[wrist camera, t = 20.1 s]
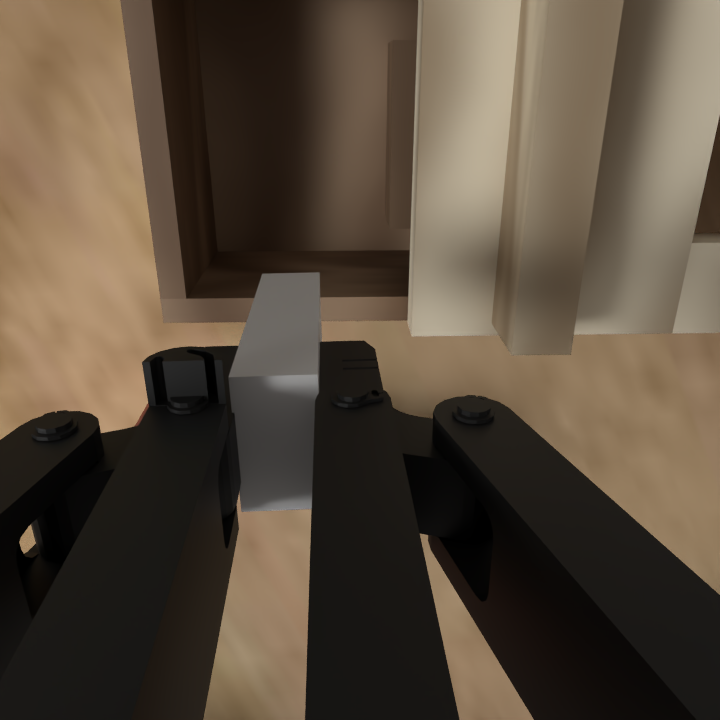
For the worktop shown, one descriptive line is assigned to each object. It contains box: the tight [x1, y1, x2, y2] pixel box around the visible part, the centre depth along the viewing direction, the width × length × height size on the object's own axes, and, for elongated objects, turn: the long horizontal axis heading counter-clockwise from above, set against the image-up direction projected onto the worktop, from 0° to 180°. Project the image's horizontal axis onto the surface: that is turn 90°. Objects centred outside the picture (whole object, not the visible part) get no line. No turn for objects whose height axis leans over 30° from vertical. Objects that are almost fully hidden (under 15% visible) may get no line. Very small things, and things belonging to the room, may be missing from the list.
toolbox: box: [121, 0, 418, 323], centre depth 27 cm, size 20×13×8 cm, turn 90°
